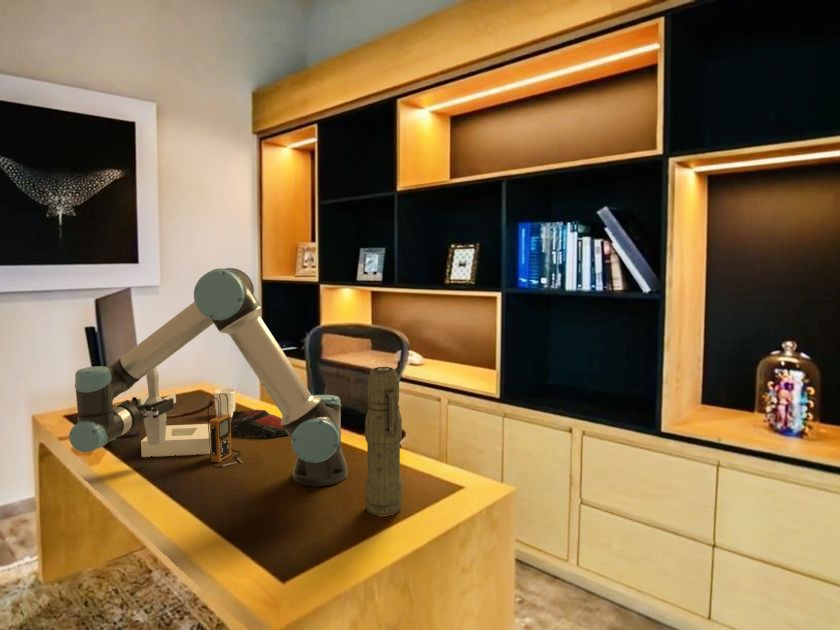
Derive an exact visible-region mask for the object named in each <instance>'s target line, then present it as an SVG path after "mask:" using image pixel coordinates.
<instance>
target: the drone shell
mask: <svg viewBox="0 0 840 630" xmlns="http://www.w3.org/2000/svg"><path fill="white" fill-rule="evenodd" d="M281 420H282V417H279V416H277V415H274V414H271V413H268V411H266V410H265V409H251V410H242V411H236V410H235V411H234V412H233V416H232V417H231V420H230V423H231V436H235V437H242V436H244V437H245V438H271V437H279V436H286V435H288V434H287V432H286V430H285V429H284V427H283V426H282V424H281ZM235 434H236V435H235Z"/></svg>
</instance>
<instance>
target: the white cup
mask: <svg viewBox="0 0 840 630" xmlns="http://www.w3.org/2000/svg"><path fill="white" fill-rule="evenodd" d="M236 392H237V391H236V389H234V388H219V389H216V390H214V391H213V394H214V395H213V398H214V397H215V398H217V399H218V401H219V408H220V399H221V411H222V414H228V413H229V415H230V417H231V418H232V416H233V412H234V411H236ZM221 393H224V394H226V395H227V397H226V395H224V394H221ZM219 394H221V395H220V398H219ZM215 398H214V406H215V407H214V408H215V411H216V412H215V413H216V417H217V416H218V401H217V399H215ZM227 398H228V411H227Z"/></svg>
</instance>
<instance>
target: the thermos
mask: <svg viewBox="0 0 840 630" xmlns="http://www.w3.org/2000/svg"><path fill="white" fill-rule="evenodd" d="M397 372H398V371H397V370H396V369H395V368H393V367H390V366H376V367H373V368H372V369H371V370H370V372H369V375H368V378H367V402H368V404H367V412H366V415H365V418H364V419H365V421H364V423H365V427H364V428H365V431H364V432H365V433H364V435H365V441H366V443H367V478H366V481H365V501H366V507H365V508H366V509H367V510H366V511H368V512H369V513H371V514H370V515H372V514H375V515H389V514H393V513H396V512H398V511H399V510H400V509H401V510H402V500H403V481H402V479H401V474H400V473H401V447H400V446H401V441H402V440H403V439H402V438H403V435H402V432H403V430H402V429H403V423H402V422H403V421H402V420H403V418H402V414H401V412H400V405H399V401H400V379H399V376H398V373H397ZM368 512H367V513H368Z"/></svg>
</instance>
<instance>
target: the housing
mask: <svg viewBox="0 0 840 630" xmlns="http://www.w3.org/2000/svg"><path fill="white" fill-rule="evenodd" d="M209 433H210V423H209V432H208V423H199V424H197V423H196V424H173V425H170V424H169V425H168V424H167V425H166V433H165V442H164V443H161V444H156V445H150V444H148V440H147V435H146V436H145V437H144V438H142V440H140V448H141V449H140V450H141V457H142V458H149V457H150V458H151V456H152V457H153V456H154V457H169V456H170V457H171V456H172V457H173V456H175V455H176V456H193V455H194V456H195V455H197V454H198V455H210V449H211V445H210V448H209ZM176 456H175V457H176Z"/></svg>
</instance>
